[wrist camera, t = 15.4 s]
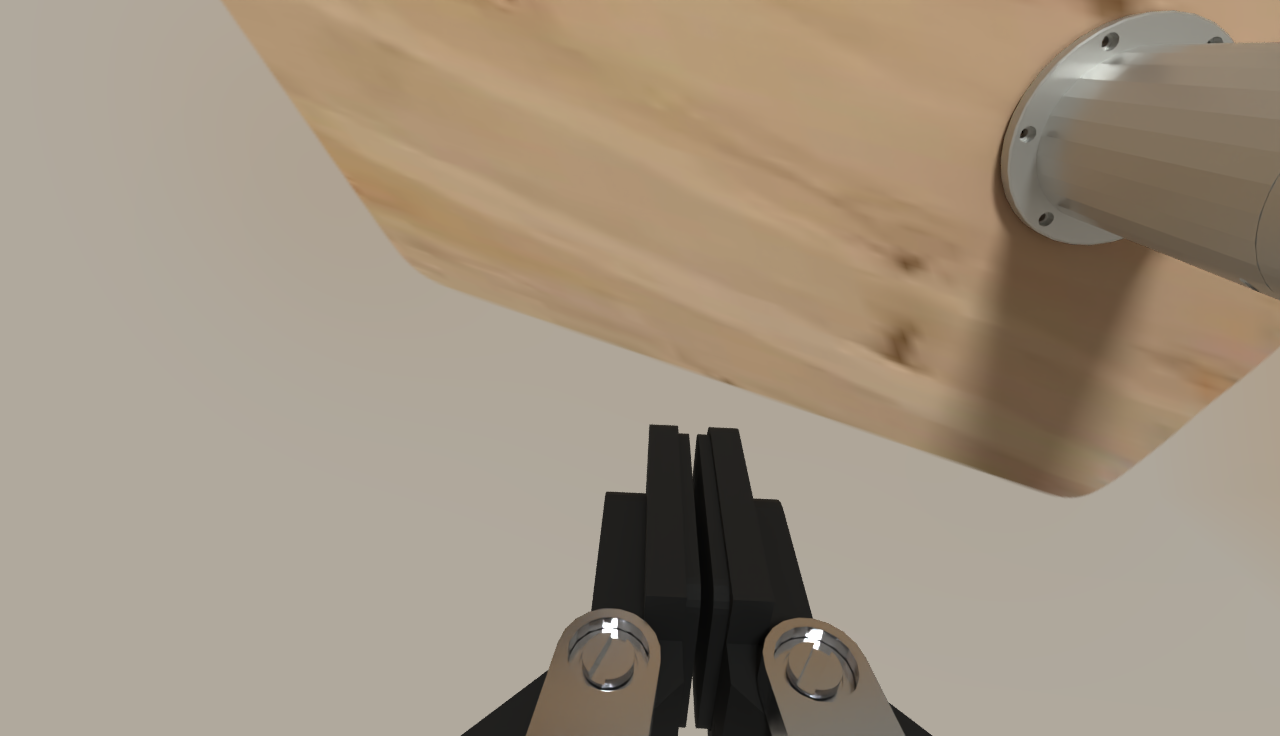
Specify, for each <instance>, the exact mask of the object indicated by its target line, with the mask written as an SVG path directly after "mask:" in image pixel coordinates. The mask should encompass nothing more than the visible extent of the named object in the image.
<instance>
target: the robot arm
mask: <svg viewBox="0 0 1280 736" xmlns="http://www.w3.org/2000/svg"><path fill="white" fill-rule="evenodd" d="M1103 39H1104V40H1103ZM1102 41H1103V44H1102ZM1022 130H1024V132H1023V134H1022V135H1021V136H1020V134H1021V132H1022ZM1001 179H1002V183H1003V188H1004V192H1005V196H1006V198H1007V200H1008V202H1009V204H1010V206H1011V208H1012V210H1013V212H1014V213H1015V214H1016V215H1017V216H1018V217H1019V218H1020V219H1021V221H1022V222H1023V223H1024V224H1025V225H1027V226H1028V227H1030V228H1031V229H1033V230H1034V231H1036V232H1037V233H1039V234H1041V235H1044V236H1046V237H1048V238H1050V239H1052V240H1055V241H1059V242H1063V243H1067V244H1072V245H1096V244H1104V243H1111V242H1114V241H1118V240H1121V239H1124V238H1125V239H1128V240H1130V241H1133V242H1135V243H1138V244H1140V245H1143V246H1145V247H1148V248H1150V249H1153V250H1155V251H1158V252H1160V253H1163V254H1165V255H1168V256H1170V257H1173V258H1175V259H1178V260H1180V261H1183V262H1185V263H1188V264H1190V265H1193V266H1195V267H1198V268H1200V269H1203V270H1205V271H1208V272H1210V273H1213V274H1215V275H1218V276H1220V277H1223V278H1225V279H1228V280H1230V281H1233V282H1235V283H1238V284H1240V285H1243V286H1245V287H1248V288H1250V289H1253V290H1255V291H1258V292H1260V293H1263V294H1265V295H1268V296H1270V297H1273V298H1275V299H1278V300H1280V42H1267V43H1234V41H1233V40H1232V38H1231V37H1230V35H1229V34H1228V33H1227V32H1225V31H1224V30H1223V29H1222V28H1221V27H1220V26H1218V25H1217V24H1216V23H1215V22H1213V21H1211V20H1208V19H1206V18H1204V17H1202V16H1199V15H1197V14H1193V13H1187V12H1180V11H1153V12H1146V13H1140V14H1134V15H1128V16H1125V17H1122V18H1119V19H1116V20H1114V21H1111V22H1108V23H1105V24H1103V25H1101V26H1099V27H1097V28H1096V29H1094V30H1092V31H1090V32H1088V33H1087V34H1085V35H1083V36H1081V37H1079V38H1078V39H1077V40H1076V41H1074V42H1073V43H1072V44H1070V45H1069V46H1068V47H1066V48H1065V49H1064V50H1062V51H1061V52H1060V53H1059V54H1058V55H1057V56H1056V57H1055V58H1054V59H1053V60H1052V61H1051V62H1050V63H1049V64H1048V65H1047V66H1046V67H1045V68H1044V69H1043V70H1042V71H1041V72H1040V73H1039V74H1038V75H1037V77H1036V78H1035V80H1034V81H1033V82H1032V84H1031V85H1030V86H1029V88H1028V89H1027V90H1026V92H1025V93H1024V95H1023V96H1022V98H1021V100H1020V102H1019V104H1018V106H1017V108H1016V109H1015V111H1014V113H1013V115H1012V118H1011V120H1010V123H1009V126H1008V129H1007V132H1006V135H1005V137H1004V143H1003V149H1002V155H1001ZM1040 216H1041V217H1040ZM648 445H649V446H648V464H647V482H646V493H645V494H644V493H625V492H606V495H605V502H604V510H603V519H602V527H601V535H600V543H599V551H598V560H597V568H596V576H595V585H594V593H593V601H592V609H591V612H588V613H586V614H584V615H582V616H580V617H578V618H577V619H575V620H574V621H573V622H572V623H571V624H570V625H569V626H568V627H567V628H566V629H565V631H564V632H563V634H562V636H561V638H560V640H559V641H558V644H557V647H556V649H555V652H554V655H553V658H552V661H551V664H550V667H549V670H548V671H546V672H545V673H544V674H542V675H541V676H540V677H538V678H537V679H536V680H534V681H533V682H532V683H530V684H529V685H528V686H526V687H525V688H524V689H522V690H521V691H520V692H518V693H517V694H516V695H514V696H513V697H512V698H510V699H509V700H508V701H506V702H505V703H504V704H502V705H501V706H500V707H498V708H497V709H496V710H494V711H493V712H492V713H491V714H489V715H488V716H486V717H485V718H484V719H482V720H481V721H480V722H479V723H477V724H476V725H474V726H473V727H472V728H470V729H469V730H468V731H466V732H465V733H464V734H462V735H461V736H678V729H679V727H684V728H685V727H686V721H687V713H688V705H689V697H690V689H691V681H692V677H693V695H694V712H695V713H694V714H695V724H696V725H695V726H696V728H704V729H708V736H932V735H931V734H929V733H928V732H927V731H926V730H924V729H922V728H921V727H920V726H919V725H918V724H916V723H915V722H914V721H912V720H911V719H909V718H908V717H907V716H906V715H904V714H903V713H902V712H900V711H899V710H898V709H897V708H895V707H894V706H893V705H891V704H890V703H889V702H888V701H887V699H886V697H885V695H884V693H883V691H882V689H881V687H880V685H879V683H878V681H877V679H876V677H875V675H874V673H873V671H872V669H871V667H870V665H869V663H868V661H867V659H866V657H865V656H864V654H863V653H862V651H861V650H860V648H859V647H858V645H857V644H856V643H855V642H854V641H853V640H852V639H851V638H850V637H848V636H847V635H846V634H845V633H844V632H843V631H841V630H839V629H837V628H835V627H834V626H832V625H830V624H829V623H826V622H822V621H819V620H816V619H813V618H812V614H811V610H810V606H809V603H808V599H807V595H806V592H805V588H804V584H803V581H802V577H801V574H800V570H799V566H798V562H797V558H796V555H795V551H794V548H793V544H792V540H791V537H790V533H789V529H788V525H787V522H786V518H785V514H784V511H783V507H782V505H781V502H780V501H779V500H773V499H753V496H752V491H751V486H750V482H749V477H748V472H747V467H746V463H745V458H744V453H743V449H742V444H741V439H740V434H739V430H738V429H735V428H714V427H709V428H708V432H707V435H701V434H698V435H697V440H696V449H695V459H694V469H693V479H692V467H691V454H690V441H689V434H679V433H678V426H671V425H650V427H649V444H648Z"/></svg>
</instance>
